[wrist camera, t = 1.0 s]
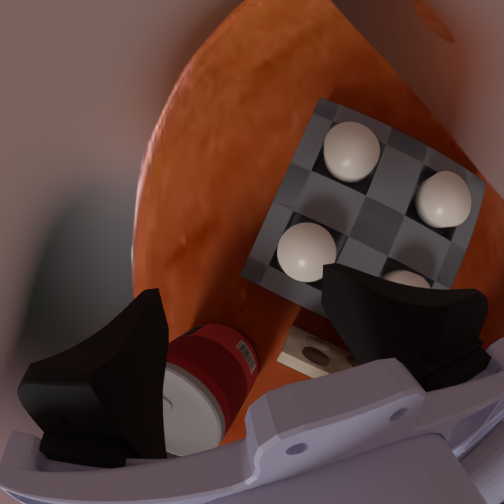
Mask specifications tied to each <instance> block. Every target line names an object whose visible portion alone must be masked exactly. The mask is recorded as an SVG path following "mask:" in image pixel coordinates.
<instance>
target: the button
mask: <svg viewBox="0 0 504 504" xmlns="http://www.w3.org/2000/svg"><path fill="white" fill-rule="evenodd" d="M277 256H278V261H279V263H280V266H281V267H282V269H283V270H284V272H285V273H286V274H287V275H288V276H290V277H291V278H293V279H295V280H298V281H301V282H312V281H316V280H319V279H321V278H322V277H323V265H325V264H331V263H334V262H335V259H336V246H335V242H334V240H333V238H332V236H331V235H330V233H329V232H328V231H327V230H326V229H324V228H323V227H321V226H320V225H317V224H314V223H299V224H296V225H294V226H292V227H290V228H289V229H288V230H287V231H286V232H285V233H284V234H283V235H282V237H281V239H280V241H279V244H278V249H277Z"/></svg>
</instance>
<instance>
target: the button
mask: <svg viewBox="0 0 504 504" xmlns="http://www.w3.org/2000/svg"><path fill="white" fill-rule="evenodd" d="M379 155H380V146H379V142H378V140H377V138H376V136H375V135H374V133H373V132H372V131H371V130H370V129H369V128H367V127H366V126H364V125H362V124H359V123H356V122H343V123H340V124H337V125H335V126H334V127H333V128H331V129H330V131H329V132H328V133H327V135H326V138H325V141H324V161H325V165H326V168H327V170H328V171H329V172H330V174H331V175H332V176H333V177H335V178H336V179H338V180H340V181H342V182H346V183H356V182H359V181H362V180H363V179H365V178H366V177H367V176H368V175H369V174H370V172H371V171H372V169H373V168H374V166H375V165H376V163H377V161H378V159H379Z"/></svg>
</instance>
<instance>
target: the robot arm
mask: <svg viewBox="0 0 504 504" xmlns="http://www.w3.org/2000/svg"><path fill="white" fill-rule="evenodd" d="M321 304H322V307H323V309H324V311H325V313H326V315H327V317H328V319H329V321H330V322H331V324H332V325H333V327H334V328H335V330H336V331H337V333H338V334H339V335H340V337H341V338H342V340H343V341H344V343H345V344H346V345H347V347H348V348H349V350H350V351H351V353H352V354H353V356H354V357H355V359H356V361H357V363H358V365H359V366H356V367H353V368H350V369H346V370H343V371H339V372H336V373H332V374H328V375H324V376H321V377H317V378H313V379H309V380H304V381H300V382H296V383H291V384H287V385H284V386H282V387H279V388H276V389H274V390H271V391H268V392H266V393H265V394H264V395H262V396H261V397H260V398H259V399H258V400H256V401H255V402H254V403H253V404H251V405H250V406H249V408H248V411H247V414H246V418H245V424H246V430H247V437H246V438H244V439H241V440H238V441H235V442H232V443H229V444H226V445H222V446H219V447H216V448H212V449H209V450H205V451H201V452H198V453H194V454H190V455H186V456H182V457H178V458H173V459H167V454H166V444H165V434H164V418H163V386H164V377H165V370H166V362H167V355H168V347H169V328H168V324H167V320H166V316H165V313H164V309H163V305H162V301H161V297H160V293H159V289H158V288H156V289H148V290H144V291H143V292H142V293H140V294H139V295H138V296H137V297H136V298H135V299H134V300H133V301H132V302H131V303H130V304H129V305H128V306H127V307H126V308H125V309H124V310H123V311H122V312H121V313H120V314H119V315H118V316H116V317H115V318H114V319H113V320H112V321H111V322H110V323H109V324H107V325H106V326H105V327H104V328H102V329H101V330H100V331H98V332H97V333H95V334H94V335H92V336H91V337H89V338H88V339H86V340H84V341H83V342H81V343H79V344H77V345H76V346H74V347H72V348H70V349H68V350H66V351H64V352H61V353H59V354H57V355H54V356H52V357H49V358H46V359H43V360H40V361H37V362H34V363H31V364H30V365H29V367H28V369H27V371H26V373H25V375H24V377H23V378H22V381H21V382H20V384H19V386H18V396H19V399H20V402H21V404H22V405H23V407H24V408H25V410H26V411H27V412H28V414H29V415H30V416H31V417H32V419H33V420H34V421H35V422H36V424H37V425H38V426H39V427H40V428H41V429H42V430H43V432H44V434H43V437H42V440H41V439H40V438H38V437H36V436H34V435H31V434H26V433H21V432H17V431H12V432H11V434H10V437H9V440H8V442H7V445H6V448H5V451H4V454H3V457H2V460H1V463H0V488H1V489H2V490H3V491H5V492H6V493H7V494H9V495H10V496H12V497H13V498H14V499H16V500H17V501H19V502H20V503H22V504H504V337H502V338H500V339H499V340H497V341H496V342H494V343H493V344H491V345H490V346H489V347H488V348H487V349H486V351H485V350H483V349H482V348H481V346H482V344H483V341H482V340H481V339H480V338H478V336H479V334H480V331H481V329H482V326H483V324H484V321H485V318H486V314H487V310H488V301H487V298H486V296H485V295H484V294H482V293H481V292H480V291H478V290H476V289H457V290H447V289H430V288H422V287H415V286H409V285H405V284H400V283H396V282H392V281H389V280H386V279H382V278H379V277H376V276H373V275H371V274H368V273H365V272H362V271H360V270H357V269H354V268H351V267H348V266H345V265H342V264H338V263H331V264H325V265H323V277H322V299H321Z"/></svg>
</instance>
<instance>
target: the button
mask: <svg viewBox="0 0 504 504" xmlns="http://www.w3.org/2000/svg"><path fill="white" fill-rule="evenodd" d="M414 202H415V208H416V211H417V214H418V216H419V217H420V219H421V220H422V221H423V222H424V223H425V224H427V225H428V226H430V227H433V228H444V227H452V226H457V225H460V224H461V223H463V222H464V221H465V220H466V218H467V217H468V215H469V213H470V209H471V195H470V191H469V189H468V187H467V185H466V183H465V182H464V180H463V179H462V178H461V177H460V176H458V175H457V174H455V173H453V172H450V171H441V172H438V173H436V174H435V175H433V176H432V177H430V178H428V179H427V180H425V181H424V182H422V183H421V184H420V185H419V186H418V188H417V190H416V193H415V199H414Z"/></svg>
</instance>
